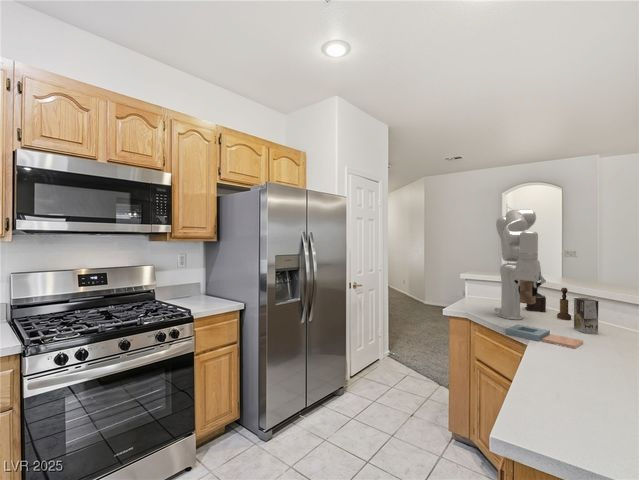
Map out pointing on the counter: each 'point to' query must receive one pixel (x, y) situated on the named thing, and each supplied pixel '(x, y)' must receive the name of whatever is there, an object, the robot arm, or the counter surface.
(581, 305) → the coffee box
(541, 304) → the dark brown boxy piece
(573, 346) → the terracotta tile
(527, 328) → the pocket plate
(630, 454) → the counter surface
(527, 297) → the walnut block
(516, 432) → the counter surface
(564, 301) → the wooden chess piece
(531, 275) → the robot arm
